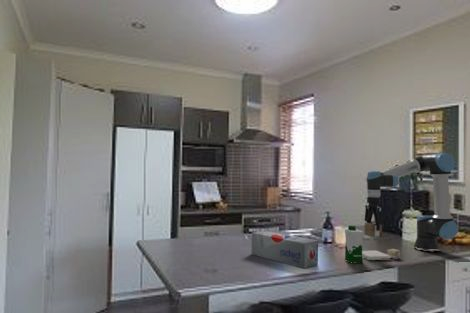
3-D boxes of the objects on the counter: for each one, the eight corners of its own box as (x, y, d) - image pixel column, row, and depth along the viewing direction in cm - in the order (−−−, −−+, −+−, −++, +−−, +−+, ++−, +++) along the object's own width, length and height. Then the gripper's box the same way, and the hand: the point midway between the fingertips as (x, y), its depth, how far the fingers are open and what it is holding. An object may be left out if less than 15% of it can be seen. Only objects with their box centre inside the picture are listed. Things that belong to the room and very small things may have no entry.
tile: (376, 254, 224) (376, 250, 224) (390, 260, 211) (390, 256, 211) (356, 255, 221) (356, 251, 221) (369, 261, 207) (369, 256, 208)
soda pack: (318, 265, 196) (319, 240, 197) (304, 269, 188) (305, 243, 188) (264, 251, 226) (265, 229, 227) (250, 254, 218) (250, 231, 218)
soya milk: (355, 259, 211) (356, 225, 211) (365, 263, 202) (365, 227, 203) (342, 260, 208) (343, 225, 209) (351, 264, 200) (352, 228, 200)
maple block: (392, 257, 219) (392, 248, 219) (399, 258, 215) (399, 250, 215) (387, 258, 216) (387, 249, 216) (394, 259, 212) (394, 251, 212)
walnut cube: (374, 234, 220) (374, 222, 221) (381, 236, 214) (381, 224, 214) (364, 234, 219) (364, 222, 219) (371, 236, 212) (371, 224, 212)
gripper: (358, 195, 226) (358, 231, 225) (378, 198, 206) (377, 238, 206) (369, 195, 227) (368, 231, 227) (389, 198, 208) (389, 237, 207)
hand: (373, 234), depth 216 cm, fingers closed on walnut cube, 7 cm apart
